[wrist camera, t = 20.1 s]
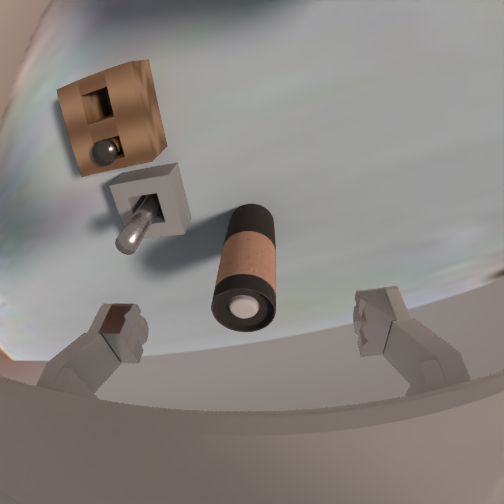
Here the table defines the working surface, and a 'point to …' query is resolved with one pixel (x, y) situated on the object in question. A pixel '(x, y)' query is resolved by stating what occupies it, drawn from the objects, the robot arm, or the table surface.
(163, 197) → the grey square ring block
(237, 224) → the travel mug
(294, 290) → the table surface
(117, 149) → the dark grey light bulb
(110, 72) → the socket block
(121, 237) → the grey tapered rounded rod
